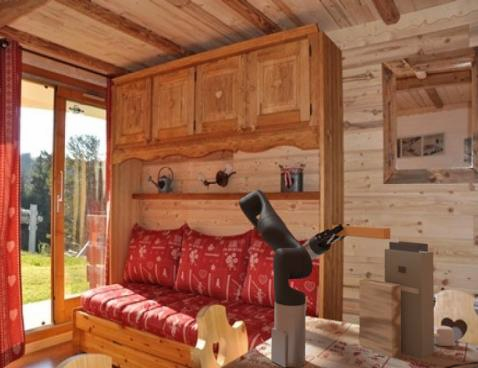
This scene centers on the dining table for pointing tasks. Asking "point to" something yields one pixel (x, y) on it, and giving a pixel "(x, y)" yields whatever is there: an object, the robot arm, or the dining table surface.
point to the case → (413, 294)
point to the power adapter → (443, 336)
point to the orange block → (364, 232)
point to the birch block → (380, 316)
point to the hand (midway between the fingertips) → (345, 226)
